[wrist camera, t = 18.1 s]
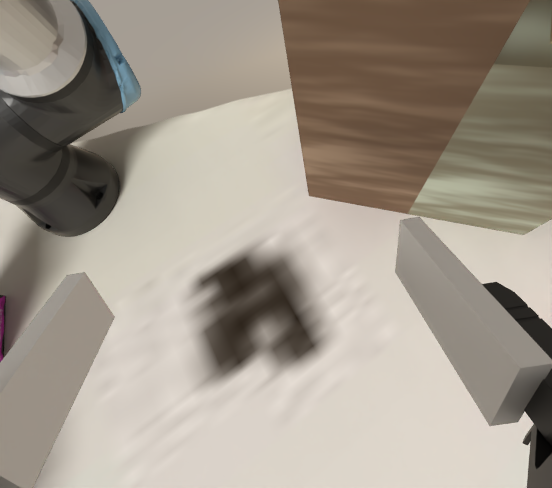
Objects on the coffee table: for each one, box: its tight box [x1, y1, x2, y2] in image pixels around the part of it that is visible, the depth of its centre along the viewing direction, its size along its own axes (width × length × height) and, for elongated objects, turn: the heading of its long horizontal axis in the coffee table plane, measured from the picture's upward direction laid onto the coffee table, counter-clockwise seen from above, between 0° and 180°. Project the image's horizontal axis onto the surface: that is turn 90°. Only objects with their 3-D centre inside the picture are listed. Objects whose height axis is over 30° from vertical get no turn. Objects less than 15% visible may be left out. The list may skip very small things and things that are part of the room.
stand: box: [278, 0, 552, 235], centre depth 30 cm, size 14×28×29 cm, turn 74°
